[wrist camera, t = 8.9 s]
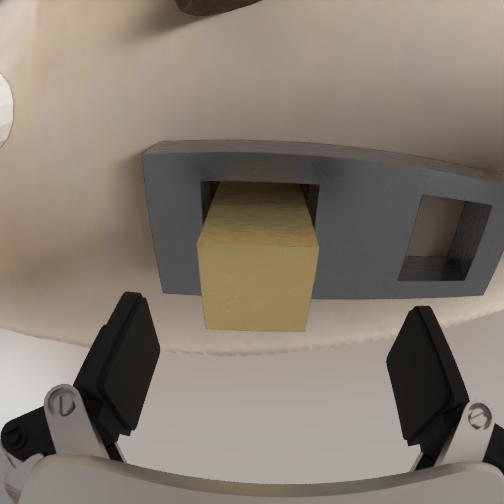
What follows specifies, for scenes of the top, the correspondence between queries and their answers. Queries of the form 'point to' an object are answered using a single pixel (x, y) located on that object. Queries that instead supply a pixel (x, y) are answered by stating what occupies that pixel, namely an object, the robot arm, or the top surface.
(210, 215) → the gold block
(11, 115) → the white cup
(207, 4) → the bolt
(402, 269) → the grey peg board
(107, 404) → the robot arm
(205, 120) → the top surface
